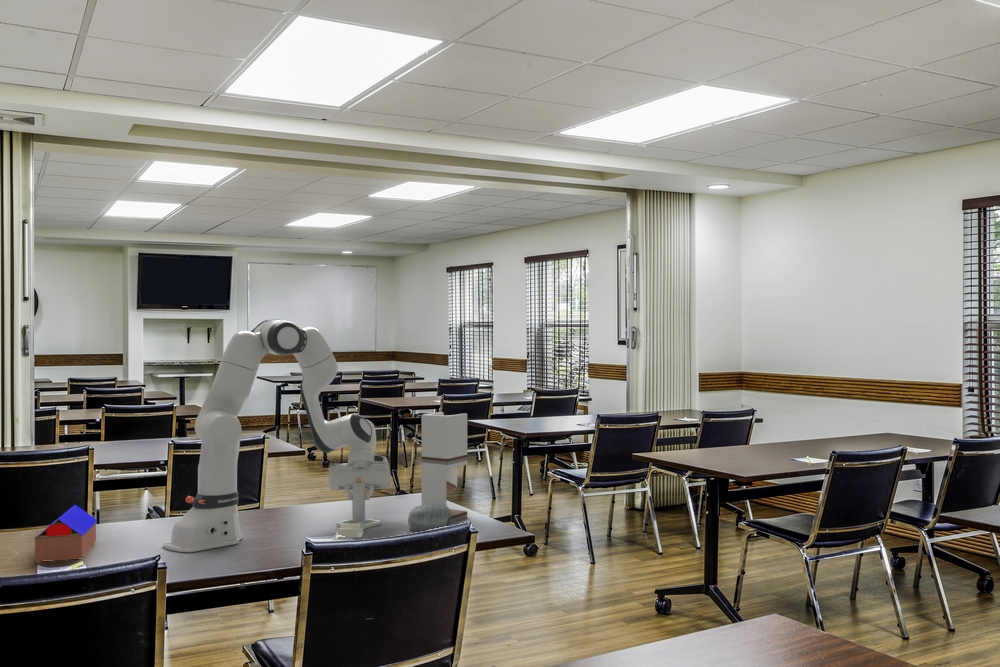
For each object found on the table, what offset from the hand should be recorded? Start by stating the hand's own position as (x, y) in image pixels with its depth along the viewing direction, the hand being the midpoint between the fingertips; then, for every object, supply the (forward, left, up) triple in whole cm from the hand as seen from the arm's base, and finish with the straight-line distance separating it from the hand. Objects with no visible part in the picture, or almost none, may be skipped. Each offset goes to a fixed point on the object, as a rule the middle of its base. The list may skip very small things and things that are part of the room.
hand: (358, 499), depth 256 cm
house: (-68, +47, -10) cm, 83 cm away
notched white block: (+26, -14, -9) cm, 31 cm away
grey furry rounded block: (+10, -21, -9) cm, 25 cm away
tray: (0, 0, -9) cm, 9 cm away
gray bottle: (0, 0, -7) cm, 7 cm away
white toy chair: (-9, -5, -9) cm, 14 cm away
